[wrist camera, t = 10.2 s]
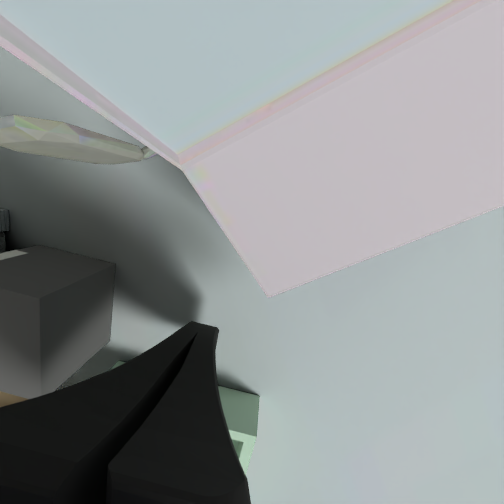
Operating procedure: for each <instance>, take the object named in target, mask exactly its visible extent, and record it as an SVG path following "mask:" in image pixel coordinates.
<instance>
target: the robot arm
mask: <svg viewBox="0 0 504 504" xmlns="http://www.w3.org/2000/svg"><path fill="white" fill-rule="evenodd" d="M218 333H219V329H218V328H217V327H213V326H209V325H205V324H201V323H196V322H192V321H191V322H189V323H188V324H186V325H185V326H183V327H182V328H181V329H179V330H178V331H176V332H175V333H174V334H172V335H171V336H169V337H168V338H166V339H165V340H163V341H162V342H160V343H159V344H157V345H156V346H154V347H152V348H151V349H149V350H147V351H146V352H144V353H142V354H141V355H139V356H137V357H135V358H134V359H132V360H130V361H128V362H126V363H124V364H122V365H120V366H118V367H116V368H114V369H111V370H109V371H107V372H104V373H102V374H100V375H97V376H95V377H92V378H90V379H87V380H85V381H83V382H80V383H77V384H75V385H72V386H69V387H66V388H63V389H60V390H57V391H54V392H51V393H48V394H45V395H42V396H39V397H35V398H32V399H28V400H25V401H21V402H17V403H14V404H10V405H6V406H3V407H0V504H251V501H250V494H249V488H248V481H247V478H246V475H245V473H244V471H243V468H242V466H241V463H240V461H239V458H238V456H237V453H236V450H235V448H234V445H233V442H232V439H231V436H230V433H229V429H228V426H227V423H226V419H225V416H224V412H223V408H222V404H221V399H220V394H219V389H218V382H217V374H216V361H215V349H216V344H217V338H218Z"/></svg>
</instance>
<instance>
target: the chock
mask: <svg viewBox="0 0 504 504" xmlns="http://www.w3.org/2000/svg"><path fill="white" fill-rule="evenodd" d="M115 265H116V264H114V263H110V262H106V261H102V260H98V259H94V258H90V257H86V256H82V255H78V254H74V253H70V252H66V251H62V250H58V249H53V248H49V247H45V246H41V245H37V246H32V247H28V248H24V249H19V250H13V251H8V252H4V253H0V391H1V392H5V393H8V394H12V395H15V396H19V397H23V398H26V399H32V398H35V397H39V396H42V395H45V394H48V393H51V392H54V391H55V390H56V389H57V388H58V387H59V386H60V385H61V384H63V383H64V382H65V381H66V380H67V379H68V378H69V377H70V376H71V375H73V374H74V373H75V372H76V371H77V370H78V369H79V368H80V367H81V366H83V365H84V364H85V363H86V362H87V361H88V360H89V359H90V358H91V357H93V356H94V355H95V354H96V353H97V352H98V351H99V350H100V349H101V348H102V347H104V346H105V345H106V344H107V343H108V342H109V341H110V335H111V321H112V307H113V293H114V279H115Z"/></svg>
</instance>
